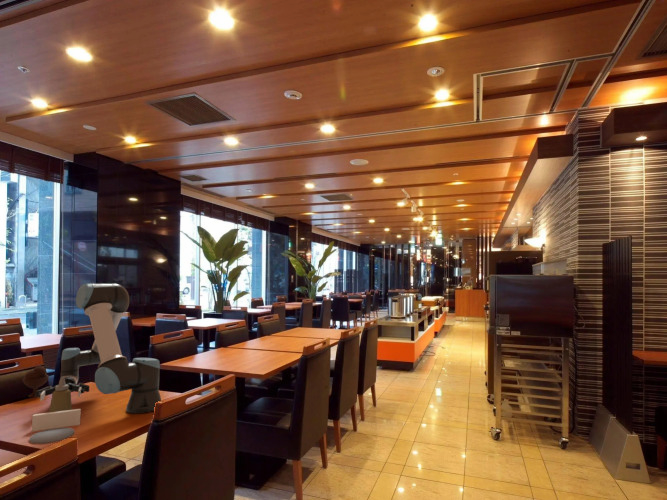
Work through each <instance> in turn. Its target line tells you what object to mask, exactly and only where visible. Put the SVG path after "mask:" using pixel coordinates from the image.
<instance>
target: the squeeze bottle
mask: <svg viewBox="0 0 667 500" xmlns="http://www.w3.org/2000/svg"><path fill="white" fill-rule="evenodd" d="M60 378H61V379H59V381H60V382H59V381H58V382H59V385H57V384H56V385H57V386H56V385H55V386H56V387H55V390H56V391H54V392H53V393H52V394H51V400H50V405H49V409H48V410H49V411H48V413H49V412H58V411H66V410H73V409H72V395H71V393H72V392H71V391H70V390H69V389H68V385H67V384H66V383H65V378H64V377H61V376H60Z"/></svg>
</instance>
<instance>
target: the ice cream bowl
mask: <svg viewBox="0 0 667 500" xmlns="http://www.w3.org/2000/svg"><path fill="white" fill-rule="evenodd" d="M49 377H50V376H49V375H48V374H47V370H46V368H45V367H44V366H41V365H40V366H36V367H34V368H33V369H31V370H29V371H27V372H26V374H25V375H24V377H23V378H22V383H23V384H24V385H25V386H26V387H28V388H30V389H32V393H31V394H29V395H28V398H36V397H35V392H36V391H38V390H39V388H40V387H42V386H43V385H45V384H46V383H47V382H48V380H49Z"/></svg>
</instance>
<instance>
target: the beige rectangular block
mask: <svg viewBox="0 0 667 500" xmlns="http://www.w3.org/2000/svg"><path fill="white" fill-rule="evenodd" d="M81 410H82V409H81V408H76V409H74V408H73V409H72V410H66V411H58V412H49V411H48V412H44V413H43V412H42V413H35V414H33V415H32V421H31V422H32V424H31V432H40V431H45V430H49V429H55V428H69V427H74V426H80V424H81V413H82V411H81Z"/></svg>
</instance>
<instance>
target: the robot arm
mask: <svg viewBox="0 0 667 500" xmlns="http://www.w3.org/2000/svg"><path fill="white" fill-rule="evenodd" d="M128 292H129V291H127V289H126V288H125V287H124V286H122V285H121V284H118V283H93V282H92V283H84V284H82V285H81V286H80V287H79V289H78V291H77V293H76V296H75V305H76V307H77V308H78V309H81V310H83V312H84V314H85V315H86V316H88V317H89V319H90V323H91V328H92V332H93V336H94V341H93V343H92V347H91V349H87V350H81V349H80V348H79V347H67V348H64V349H63V350H62V353H61V359H60V360H61V367H60V379H61V377H64V378H65V383H66V384H67V385H68V389H69V390H70V391H71V393H77V398H80V397H81V395H82V394H84V393H85V392H86V393H88V392H90V385H88V384H85V383H84V382H79V379H80V375H79V373H80V372H79V369H80V367H83V366H84V367H85V366H91V365H95V364H96V365H97V364H98V366H97V369H96V370H95V374H94V382H95V383H94V384H95V386H96V388H97V390H98V391H99V392H100V393H102V394H104V395H111V394H116V393H120V392H124V391H129V390H131V391H130V392H131V393H130V396H129V399H128V401H127V404H126V407H125V408H126V409H125V411H126V412H127V413H128V412H129V413H130V414H146V413H145V412H148V413H152V412H151V411H153V412H155V411H154V407H155V403H156V402H158V401H161V400H162V398H161V393H160V391H159V390H160V369H161V367H160V360H159V359H157V358H152V357H134V358H133V359H132V360H131V361H132V362H128V361H129V360H128V358H127V356H124V355H123V354H122V350H121V346H120V343H119V339H118V335H117V332H116V331H117V330H118V329H117V328H118V326H119V324H120V321H121V320H122V316H123V315H124V313H126V312H127V311H128V308H129V305H130V295H129V293H128ZM60 379H59V381H58V382H57V383H56V385H54V386H53V387H52V386H51V385H48V386H46V387H43V388H41V389H37V391H36V392H35V397H34V398H39V399H40V400H39V401H40V402H42V401H44V399H45V398H46V396H50V395H52V393H53V392H54V391H56V390H55V387H56V386H57V385H59V382H60ZM78 382H79V383H78Z"/></svg>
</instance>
